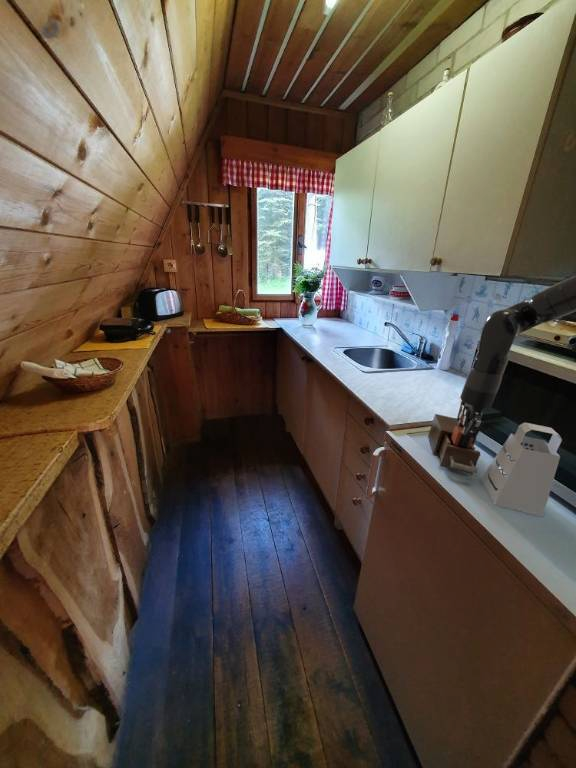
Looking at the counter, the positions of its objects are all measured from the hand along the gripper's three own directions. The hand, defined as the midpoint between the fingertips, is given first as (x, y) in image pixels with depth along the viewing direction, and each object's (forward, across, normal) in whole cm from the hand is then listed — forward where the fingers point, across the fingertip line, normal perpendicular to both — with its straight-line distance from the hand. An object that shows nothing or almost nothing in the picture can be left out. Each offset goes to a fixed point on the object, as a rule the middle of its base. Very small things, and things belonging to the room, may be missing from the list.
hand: (460, 442), depth 86 cm
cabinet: (+8, +9, 0) cm, 12 cm away
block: (0, 0, 0) cm, 0 cm away
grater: (+8, -9, -12) cm, 17 cm away
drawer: (+7, -1, 0) cm, 7 cm away
